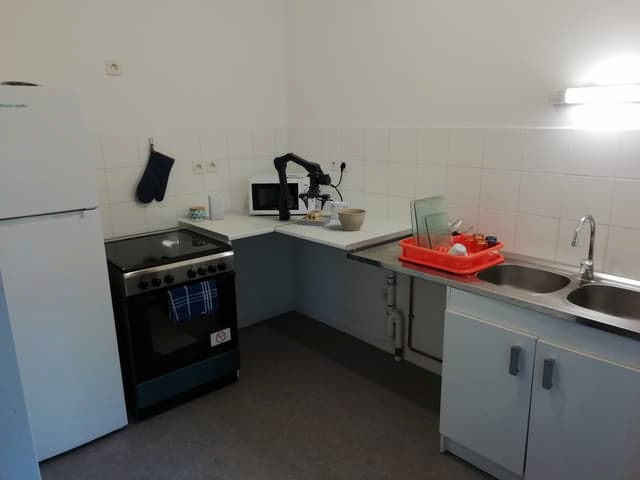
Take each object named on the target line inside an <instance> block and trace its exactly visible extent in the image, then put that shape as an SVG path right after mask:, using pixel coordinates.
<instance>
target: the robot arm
mask: <svg viewBox="0 0 640 480" xmlns="http://www.w3.org/2000/svg"><path fill="white" fill-rule="evenodd" d="M272 161H273V165H274V168H275V170H276V171H277V175H278V176H277V177H278V180H279V181H278V182H279V187H280V189H279V190H280V194H281V195H280V198H279V204H278V206H277V207H276V210H277V211H278V219H277V220H278V221H289V220H291V218H292V217H291V215H292V214H291V211H290V210H292V209H293V205H294V202H295V201H294V196H293V195H291V194H290V190H289V185H288V178H287V167H288V163H289V162H292V163H294V164H297V165H298V166H300V167H302V168H303V169H305V171H306V172H308V174H307V175H305V176H306V177H307V178H309V187H308V190H307V191H306V192H300V193H299V194H298V199H300V201H302V202H303V203H304V206H305V209H306V211H309V199H313V200H314V199H321V200H320V203H321V204H320V205H321V206H320V211H322V212H323V209H324V206H325V205H326V202H327V201H328V200H330V199H331V194H330V193H322V194H320V188H321V187H320V186H326V187H329V186H330V185H331V183H332V178H331V176H330V174H329V173H324V172H323V169H322V168H321V164H320V163H317V162H313V161H308V160H306V159H304V158H303V157H301V156H299V155H297V154H295V153H294V152H288V153H286V154H284V155H281V156H276V157H274V159H273V160H272Z"/></svg>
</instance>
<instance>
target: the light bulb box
mask: <svg viewBox="0 0 640 480" xmlns="http://www.w3.org/2000/svg"><path fill="white" fill-rule="evenodd" d="M341 209H348V201H331V202H330V220H339V217H338V210H341Z"/></svg>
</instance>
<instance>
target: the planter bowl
mask: <svg viewBox="0 0 640 480" xmlns="http://www.w3.org/2000/svg"><path fill="white" fill-rule="evenodd" d="M366 214H367V211H366V210H365V209H362V208H347V209H341V210H338V217H339V219H338V221H339V222H340V225H341V226H342V227H343V230H344V231H347V232H348V231H349V232H353V231H354V232H355V231H356V232H357V231H359V230H361V227H362V226H363V224H364V222H365V219H366Z"/></svg>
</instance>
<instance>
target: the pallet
mask: <svg viewBox="0 0 640 480" xmlns="http://www.w3.org/2000/svg"><path fill="white" fill-rule="evenodd" d="M322 212H323V210H322V211H321V210H310V211H309V212H307V213H306V216H307V219H308V220H310V219H311V220H318V219H320V218H321V217H323V216H322V215H323V214H322Z"/></svg>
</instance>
